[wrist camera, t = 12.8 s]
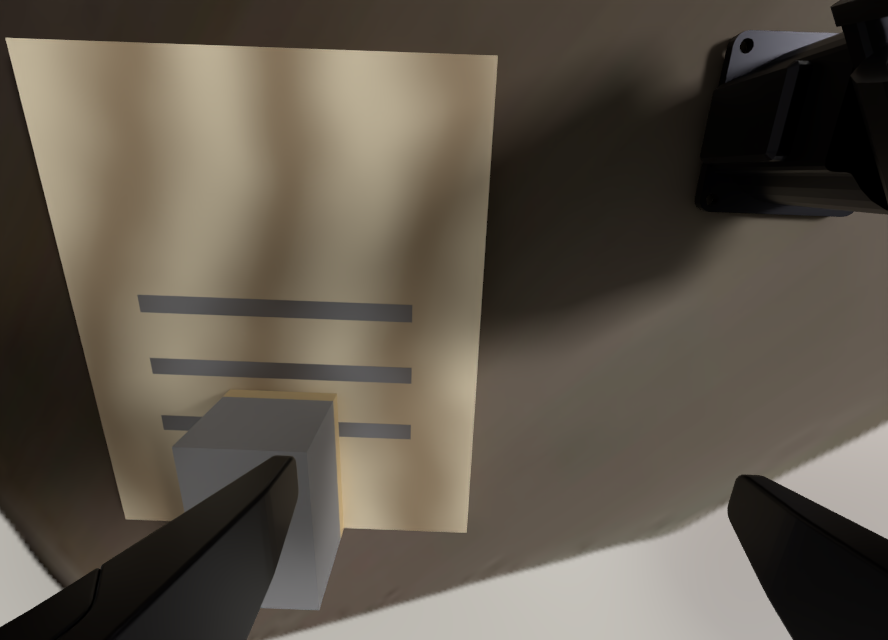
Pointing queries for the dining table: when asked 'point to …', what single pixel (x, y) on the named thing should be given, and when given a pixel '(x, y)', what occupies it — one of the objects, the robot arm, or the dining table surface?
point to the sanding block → (254, 441)
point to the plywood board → (273, 250)
